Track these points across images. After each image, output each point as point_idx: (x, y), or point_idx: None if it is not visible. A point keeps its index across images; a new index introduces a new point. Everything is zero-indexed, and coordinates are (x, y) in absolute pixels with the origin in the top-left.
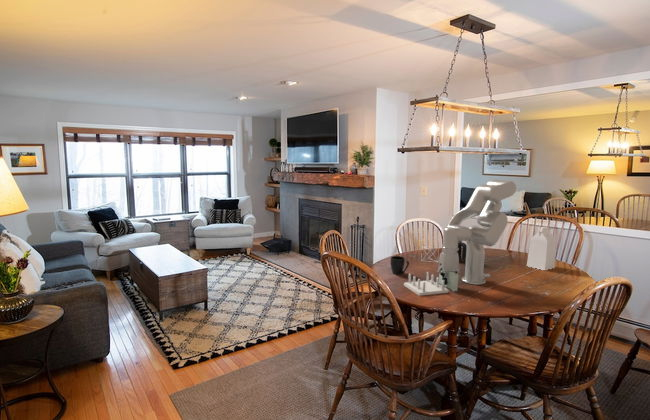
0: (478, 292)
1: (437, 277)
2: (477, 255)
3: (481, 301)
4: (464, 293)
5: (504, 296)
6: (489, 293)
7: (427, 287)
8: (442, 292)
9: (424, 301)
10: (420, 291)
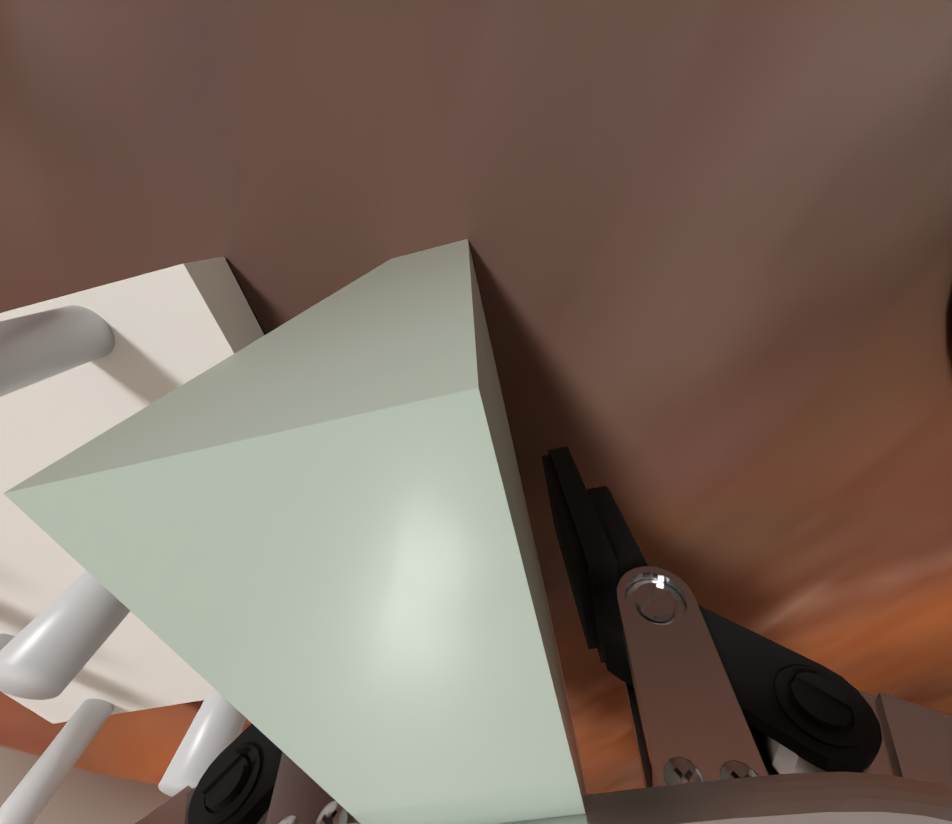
0: (759, 625)
1: (176, 786)
2: None
3: (618, 748)
4: (584, 644)
5: (910, 689)
6: (849, 643)
7: (128, 615)
8: None
9: (151, 754)
10: (56, 701)
